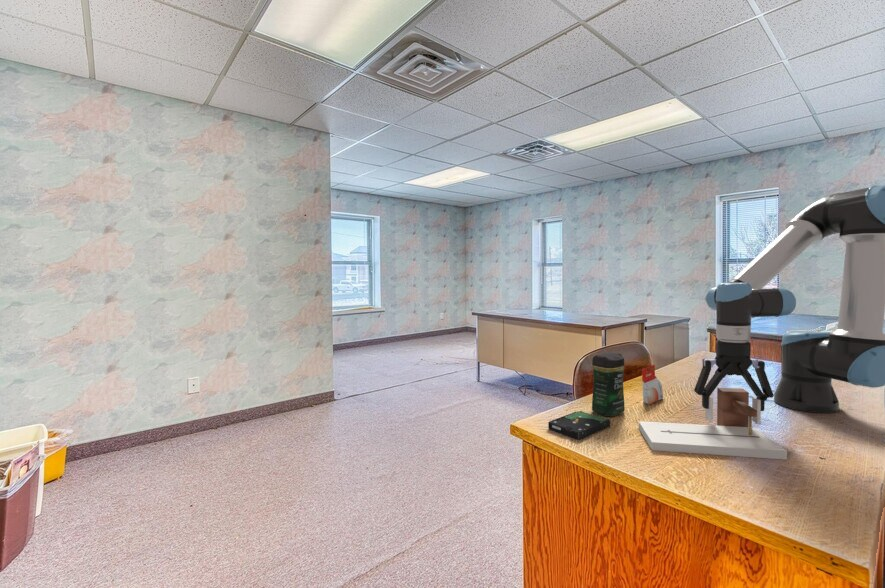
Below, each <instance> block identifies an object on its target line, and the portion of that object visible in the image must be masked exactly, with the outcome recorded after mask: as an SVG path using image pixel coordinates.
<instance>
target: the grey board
mask: <svg viewBox="0 0 885 588" xmlns="http://www.w3.org/2000/svg"><path fill="white" fill-rule="evenodd" d="M638 430H639V431H640V433H641V435H642V436H643V438H644V439H645V441H646V443H647V444H648V446H649V448H650V449H651V451H657V452H658V451H659V452H670V453H671V452H672V453H685V454H686V453H687V454H689V453H690V454H699V455H700V454H702V455H715V456H716V455H717V456H729V457H742V458H743V457H744V458H755V459H756V458H758V459H769V460H771V459H772V460H773V459H774V460H784V461H785V460H788V451H787V450H786V449H785V448H783V447H782V446H781V445H780V444H779V443H777V442H776V441H774V440H773V439H771V438H770V437H769V436H767V435H766V434H764V433H763V432H762V431H760V430H759V429H758V428H756V427H752V435H749V427H734V426H717V424H716V425H711V424H697V423H696V424H694V423H676V422H675V423H674V422H661V421H660V422H657V421H642V420H640V421H638Z"/></svg>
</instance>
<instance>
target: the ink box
mask: <svg viewBox="0 0 885 588" xmlns="http://www.w3.org/2000/svg"><path fill="white" fill-rule="evenodd" d="M648 370H649V371H648ZM655 370H656V364H652V365H649V366H647V367H644V368H642V370H641V373H642V374H641V381H642V398H643V399H642V400H643V403H644V404H646V403H647V404H646V405H652V404H655V403H656V402H658V401H660V400H662V399H664V394H663V393H664V392H663V391H664V390H663V385H662V382H661V381H660V379H659V378H658V377H657V376H656V371H655Z"/></svg>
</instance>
